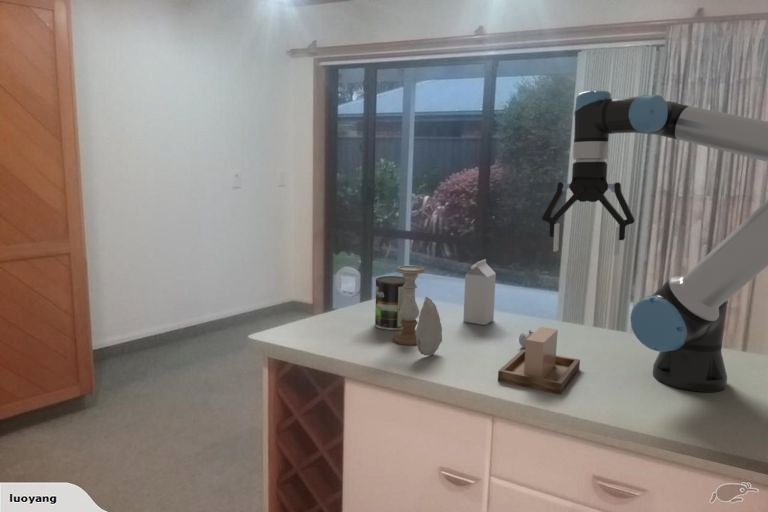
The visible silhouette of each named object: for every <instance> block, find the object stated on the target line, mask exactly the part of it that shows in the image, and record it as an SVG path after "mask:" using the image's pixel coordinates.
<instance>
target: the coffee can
mask: <svg viewBox="0 0 768 512" xmlns="http://www.w3.org/2000/svg"><path fill="white" fill-rule="evenodd" d="M404 284H405V279H404V278H403V276H398V275H387V276H386V275H384V276H380V277H379V276H378V277H376V278H375V311H374V312H375V313H374V315H375V317H374V326H375V327H376V328H378V329H380V330H386V331H399V330H403V327H402V324H401V323H400V321H401V320H402V318H401V316H400V313H399V311H400V308H401V305H402V303H403V301H404V296H405V288H403V285H404Z"/></svg>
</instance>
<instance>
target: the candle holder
mask: <svg viewBox="0 0 768 512" xmlns="http://www.w3.org/2000/svg"><path fill="white" fill-rule="evenodd" d="M395 271H396V272H397V273H398V274H399V273H400V274H402V276H401V277H403V278H404V279H405V284H404V285H403V288H405V296H404V301H403V303H402V305H401V308H400V311H399V313H400V316H401V318H402V320H401V321H400V323H401V324H402V327H403V329H402V330H397V331H396V333H395V334H393V335H392V341H393V342H394V343H397V344H399V345H405V346H411V345H413V346H414V345H416V346H417V338H416V328H417V326H418V322H419V321H418V320H417V318H419V316H420V309H419V307H418V305H417V304H418V303H417V301H416V289H417V288H418V286H417V284H416V280H417V278H419V275H420V274H423V273H425V268H424V267H423V266H419V265H399V266H397V267H396V270H395Z"/></svg>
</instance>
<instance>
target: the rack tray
mask: <svg viewBox="0 0 768 512" xmlns="http://www.w3.org/2000/svg"><path fill="white" fill-rule="evenodd" d="M580 361H581V360H580V359H578V358H573V357H567V356H564V355H563V356H562V355H557V354H556V361H555V366H554V368H553V369H552V370H551V371H550V372H549V373H548V374H547V376H546V377H545V378H539V377H535V376H530V375H525V374H524V364H525V348H523V349H521V350H520V351H519V352H518V353H516V354H515V355H514V356H513V357H512V358H511V359H510V360H508V361H507V362H506V364H505V365H503V366H502V367H500V369H499V370H498V371H497V381H498V382H500V383H501V382H502V383H507V384H511V385H515V386H519V387H520V386H521V387H524V388H529V389H534V390H539V391H544V392H548V393H552V394H558V395H562V393H563V392H564V390H565V389H566V387H567V386H568V385H569V383H571V381H572V380H573V378H574V377H575V375H576V374H577V373H578V372H579V370H580Z"/></svg>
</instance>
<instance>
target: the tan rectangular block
mask: <svg viewBox="0 0 768 512" xmlns="http://www.w3.org/2000/svg"><path fill="white" fill-rule="evenodd" d="M558 331H559V329H558V328H557V329H556V328H551V327H544V326H540V327H539V328H538V329H536V330H535V331H534V333H533V334H532V335H531V336H530V337H528V338H527V339H526V347H525V348H524V349H525V364H524V374H525V375H530V376H535V377H539V378H545V377H546V376H547V374H548V373H549V372H550V371H551V370H552V369H553V368H554V366H555V361H556V355H557V347H558V346H557V343H558Z"/></svg>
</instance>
